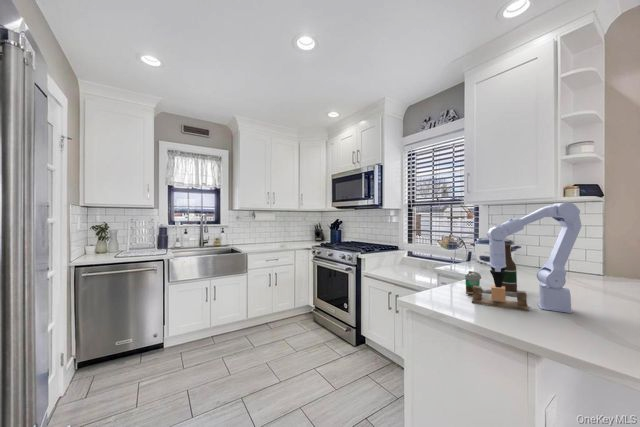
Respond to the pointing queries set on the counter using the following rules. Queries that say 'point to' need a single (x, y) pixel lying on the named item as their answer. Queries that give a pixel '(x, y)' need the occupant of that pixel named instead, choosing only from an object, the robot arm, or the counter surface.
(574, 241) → the robot arm
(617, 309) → the counter surface
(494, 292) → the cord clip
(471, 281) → the food container
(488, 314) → the counter surface
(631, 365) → the counter surface
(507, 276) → the beer bottle
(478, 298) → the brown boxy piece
